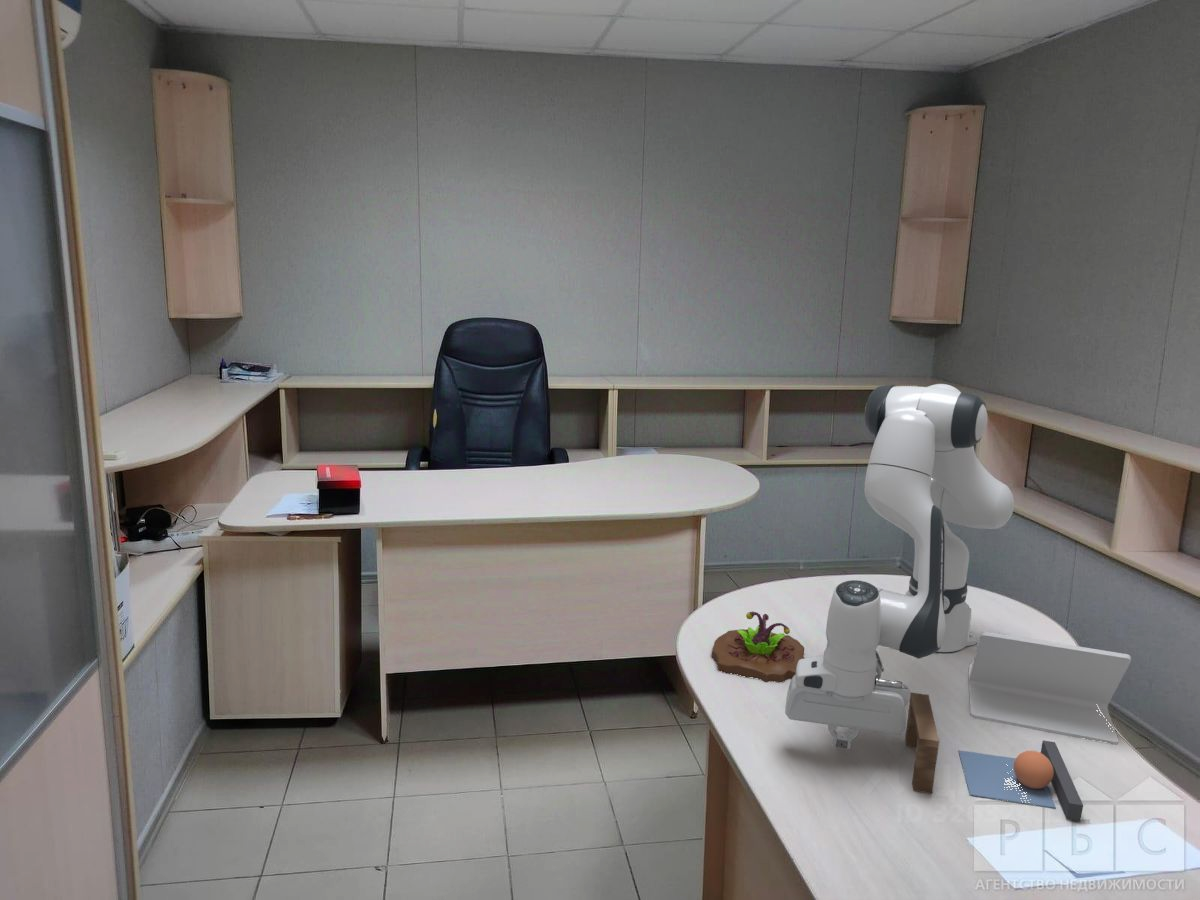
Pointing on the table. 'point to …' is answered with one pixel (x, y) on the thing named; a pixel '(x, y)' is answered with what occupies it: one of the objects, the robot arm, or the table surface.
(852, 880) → the table surface
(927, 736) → the bridge
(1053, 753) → the stopper
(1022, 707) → the tablet stand
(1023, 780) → the ball
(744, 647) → the plant
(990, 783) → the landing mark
